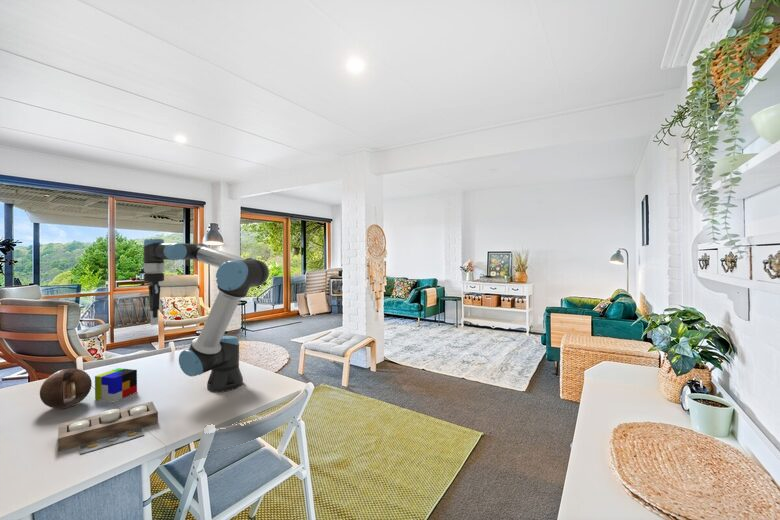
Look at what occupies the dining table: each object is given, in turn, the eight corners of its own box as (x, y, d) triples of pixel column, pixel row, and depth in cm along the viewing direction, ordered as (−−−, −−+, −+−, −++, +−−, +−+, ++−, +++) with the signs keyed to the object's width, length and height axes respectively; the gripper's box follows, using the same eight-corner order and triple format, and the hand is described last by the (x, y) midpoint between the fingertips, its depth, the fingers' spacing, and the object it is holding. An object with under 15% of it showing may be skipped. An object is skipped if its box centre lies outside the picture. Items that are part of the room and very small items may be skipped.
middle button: (118, 417, 122) (118, 407, 122) (120, 422, 118) (120, 412, 118) (100, 421, 118) (100, 412, 118) (101, 427, 115) (101, 417, 115)
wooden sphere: (48, 403, 138) (48, 367, 138) (96, 395, 145) (95, 361, 145) (32, 419, 125) (32, 379, 125) (85, 410, 132) (85, 372, 132)
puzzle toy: (114, 401, 140) (114, 378, 140) (95, 399, 142) (94, 376, 142) (137, 392, 150) (136, 369, 149) (118, 390, 152) (118, 368, 151)
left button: (89, 428, 116) (89, 418, 116) (89, 434, 113) (89, 424, 112) (69, 434, 113) (68, 423, 113) (69, 440, 109) (68, 429, 109)
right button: (145, 413, 127) (145, 404, 127) (148, 418, 124) (147, 409, 123) (129, 418, 124) (129, 408, 124) (130, 423, 120) (130, 413, 120)
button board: (152, 411, 131) (152, 401, 131) (161, 430, 118) (161, 419, 118) (58, 436, 114) (58, 424, 114) (57, 461, 100) (56, 448, 100)
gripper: (141, 272, 155) (142, 323, 155) (146, 273, 145) (146, 328, 146) (161, 271, 160) (161, 321, 160) (166, 273, 150) (167, 325, 151)
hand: (154, 324), depth 153 cm, fingers closed
